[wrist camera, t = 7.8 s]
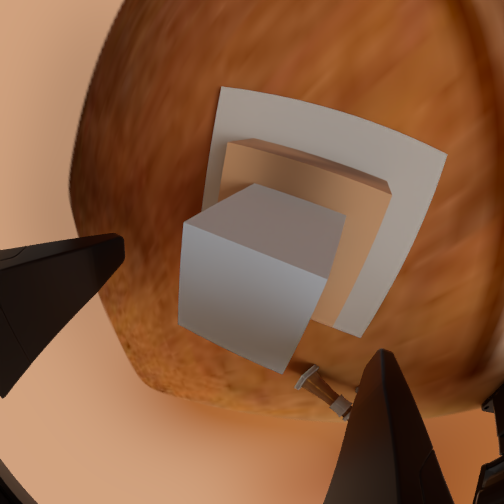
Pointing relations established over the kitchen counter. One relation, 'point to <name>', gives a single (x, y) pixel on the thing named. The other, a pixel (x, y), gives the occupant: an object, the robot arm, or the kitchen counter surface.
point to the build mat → (347, 153)
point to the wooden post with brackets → (325, 392)
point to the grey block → (256, 272)
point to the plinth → (318, 192)
